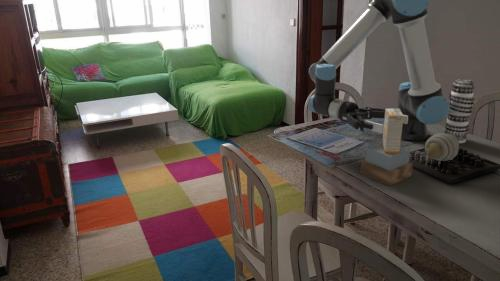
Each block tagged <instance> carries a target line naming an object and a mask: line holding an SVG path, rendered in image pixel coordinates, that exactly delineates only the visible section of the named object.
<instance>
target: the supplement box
mask: <svg viewBox="0 0 500 281" xmlns="http://www.w3.org/2000/svg"><path fill="white" fill-rule="evenodd" d="M384 109H385V118H383V119H384V121H383V125H384V128H383V133H382V141H381V142H382V146H383V149H384V152H385V153H399V151H400V146H401V142H402V141H401V140H402V139H401V134H402V125H403V117H404V116H403V114H402V112H401V110H400V109H397V108H384Z"/></svg>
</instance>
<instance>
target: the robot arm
mask: <svg viewBox="0 0 500 281" xmlns="http://www.w3.org/2000/svg"><path fill="white" fill-rule="evenodd" d="M429 3H430V0H371V1H369V2H368V4H367V6H366V7H367V9H365V11H364V12H363V13H362V14H361V15H360V16H359V17H358V18H357V19H356V20H355V21H354V22H353V24H352V25H351V26H350V27H349V28H347V30H345V32H344V33H343V34H342V35H341V36H340V37H339V38H338V39H337V41H335V43H334V44H333V45H332V46H331V47H330V48H329V49H328V50H327V51H326V53H325V54H323V55H322V57H321V58H319V60H318V61H317V62H315V63H314V62H313V63H312V64H311V65H310V67H309V68H308V75H309V77H310V79H311V80H312V81H313V82H314V84H315V85H314V86H315V87H314V88H315V90H314V94H312V95H311V96H310V98H309V101H308V108H309V111H311V112H312V113H315V114H317V115H319V116H324V117H327V118H331V119H335V120H336V121H342V122H344V123H347V124H348V125H349V126H350V127H351V128H353V129H355V130H359V131H360V132H361V131H363V132H364V129H365V130H368V131H372V132H376V133H379V134H382V135H383V129H384V124H382V123H377V122H374V121H371V120H372V119H385V109H386V108H377V107H370V106H365V108H363V107H360V108H359V106H358V104H357V103H356V102H353V101H349V100H346V99H341V98H336V95H335V94H336V80H337V69H338V67H340V66H341V65H342V64H343V62H345V61H346V60H347V58H348V57H349V56H351V54H352V53H353V52H354V51H355V50H357V48H358V47H359V46H360V45H361V44H362V43H363V42H364V41H365V40H366V39H367V38H368V37H369V36H370V35H371V34H372V33H373V32H374V31H375V30H376V29H377V28H378V26H379V25H381V23H386V22H387V21H388V20H389V19H390V18H391V20H392V24H393V25H394V26H396V27H397V28H398V31H399V36H400V40H401V45H402V51H403V56H404V59H405V64H406V70H407V73H408V79H409V81H405V82H402V83H400V84H399V89H398V91H397V92H398V96H397V103H396V104H397V105H396V106H397V107H396V109H400V110H401V112H402V114H403V116H404V117H403V125H402V134H401V140H407V141H422V140H425V139H427V137H428V134H429V130H428V125H430V126H431V125H436V124H438V123H441V122H442V121H444V120H445V119H446V117H448V114H449V113H448V112H449V109H450V105H449V102H448V101H449V100H448V99H447V98H446V97H444V96H443V90H442V85H441V84H440V83H438V82H437V81H436V77H435V73H434V67H433V62H432V57H431V50H430V45H429V40H428V34H427V30H426V25H425V24H426V23H425V19H426V18H427V16H428V15H429V14H428V8H427V7H428V4H429Z"/></svg>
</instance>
